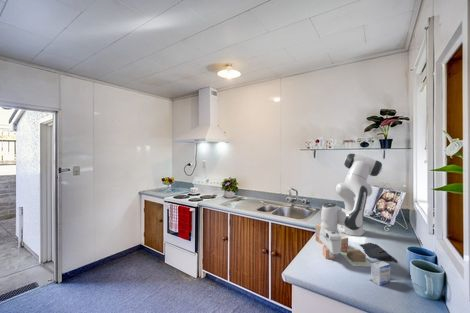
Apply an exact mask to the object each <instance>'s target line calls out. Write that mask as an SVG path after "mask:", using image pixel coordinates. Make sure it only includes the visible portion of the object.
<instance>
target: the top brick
mask: <svg viewBox="0 0 470 313" xmlns="http://www.w3.org/2000/svg"><path fill="white" fill-rule="evenodd" d="M329 254H330V250H329V249H328V248H327V247H326V246H324V245H323V246H322V256H323V257H324V259H325V260H335V259H336V258H335V256H336V254H333V258H330V257H329Z"/></svg>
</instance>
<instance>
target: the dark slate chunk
mask: <svg viewBox="0 0 470 313" xmlns="http://www.w3.org/2000/svg"><path fill="white" fill-rule="evenodd" d="M359 246H360V248H362V250H363V251H362V252H363V253H364V254H365V255H366V257H368V258H369V259H375V260H378V261H384V262H394V263H396V264H397V263H398V260H397V259H396V258H395V257H394V256H392V255H391V254H390V253H388V251H386V249H385V250H384V248H382V247H381V246H380V245H378V244H376V243H374V242H373V243H372V242H368V243H367V242H366V243H363V244H362V243H361V244H359Z"/></svg>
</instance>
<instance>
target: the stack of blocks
mask: <svg viewBox="0 0 470 313" xmlns="http://www.w3.org/2000/svg"><path fill="white" fill-rule="evenodd" d="M321 223H322V222H320V223H316V224H315V242H317V243H318V244H320V245H324V244H323V243H322V242H321V241H320V230H321ZM340 236H341V240H340V252H347V249H349V237H347V236H345V235H344V234H340Z"/></svg>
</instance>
